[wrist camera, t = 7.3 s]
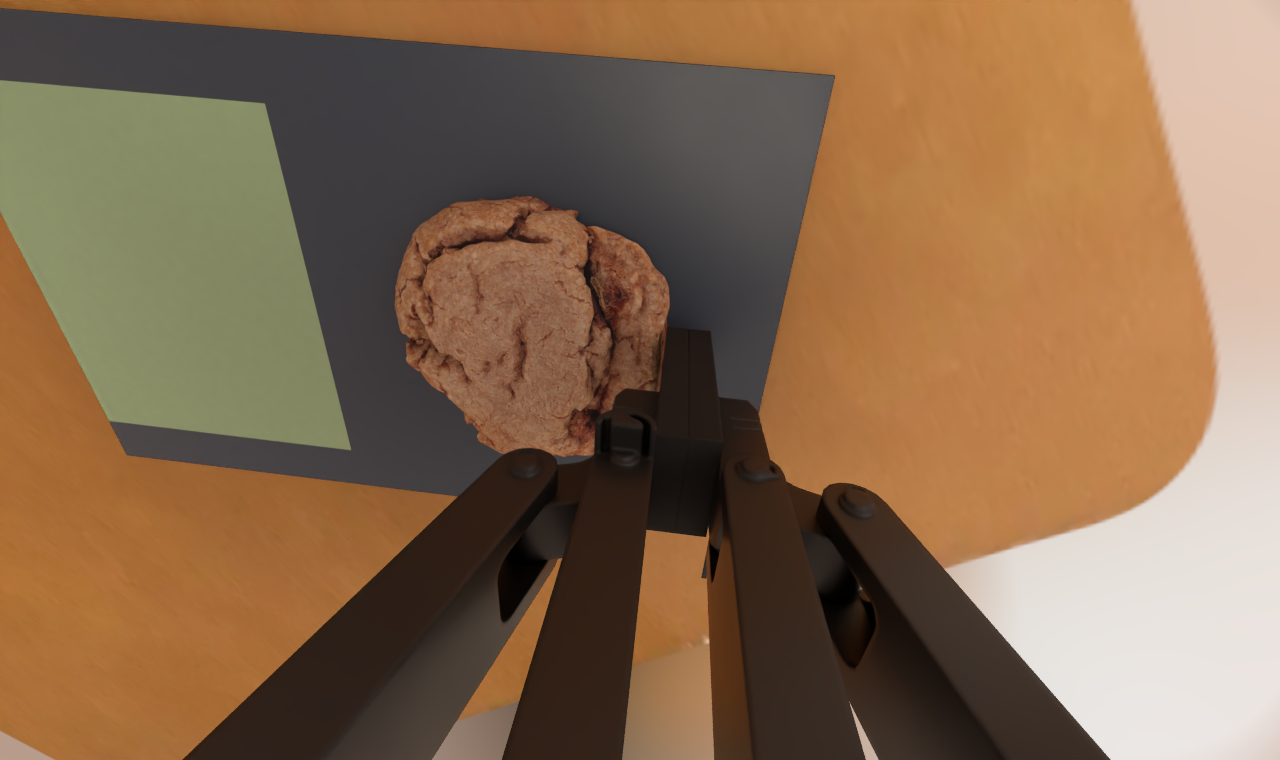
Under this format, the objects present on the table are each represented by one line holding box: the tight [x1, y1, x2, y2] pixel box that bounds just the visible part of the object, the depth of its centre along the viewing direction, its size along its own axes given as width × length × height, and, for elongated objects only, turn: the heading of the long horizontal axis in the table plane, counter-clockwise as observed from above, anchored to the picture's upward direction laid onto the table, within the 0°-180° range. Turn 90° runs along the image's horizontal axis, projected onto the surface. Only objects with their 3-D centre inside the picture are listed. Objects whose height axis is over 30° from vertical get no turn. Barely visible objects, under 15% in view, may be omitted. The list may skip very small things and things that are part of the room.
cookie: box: [395, 196, 670, 457], centre depth 17 cm, size 10×11×3 cm
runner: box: [0, 8, 835, 527], centre depth 19 cm, size 18×30×1 cm, turn 86°
